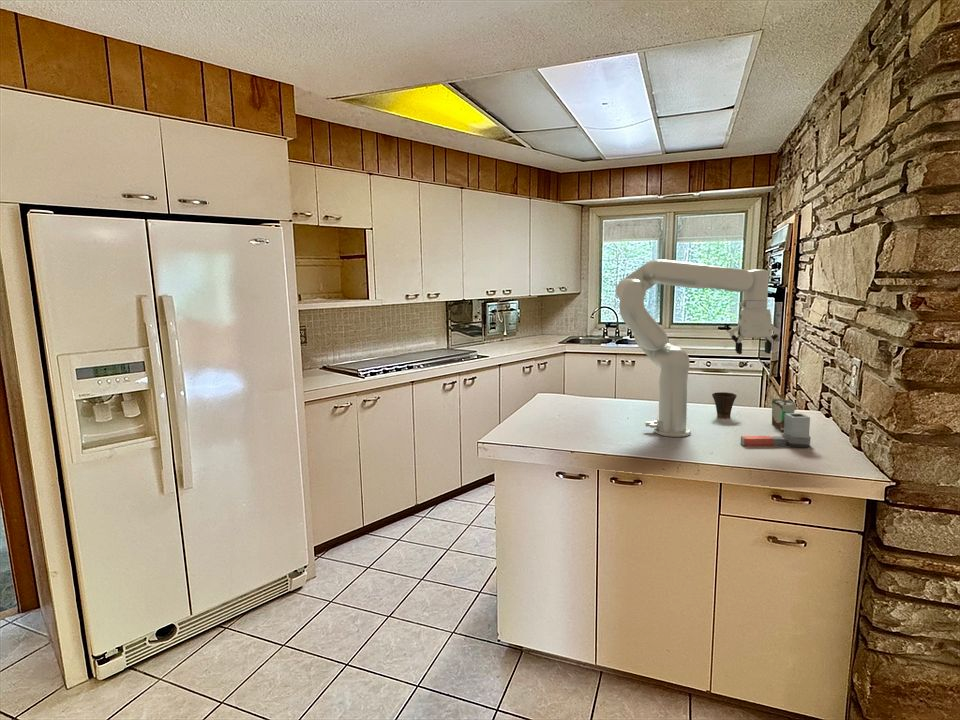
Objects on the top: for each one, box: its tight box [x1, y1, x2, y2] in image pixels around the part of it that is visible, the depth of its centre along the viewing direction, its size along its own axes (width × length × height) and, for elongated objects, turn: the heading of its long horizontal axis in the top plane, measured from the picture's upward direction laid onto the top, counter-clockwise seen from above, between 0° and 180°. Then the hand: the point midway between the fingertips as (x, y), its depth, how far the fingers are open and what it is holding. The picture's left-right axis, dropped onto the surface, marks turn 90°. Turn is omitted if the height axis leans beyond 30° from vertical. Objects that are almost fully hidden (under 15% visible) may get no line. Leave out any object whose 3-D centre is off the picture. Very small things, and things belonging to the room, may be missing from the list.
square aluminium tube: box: [783, 412, 811, 438], centre depth 176 cm, size 5×5×7 cm
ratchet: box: [740, 433, 812, 450], centre depth 177 cm, size 21×8×6 cm, turn 84°
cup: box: [711, 391, 737, 419], centre depth 212 cm, size 9×9×10 cm
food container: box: [771, 398, 797, 433], centre depth 194 cm, size 12×6×10 cm, turn 168°
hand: (753, 353), depth 190 cm, fingers open, 9 cm apart
